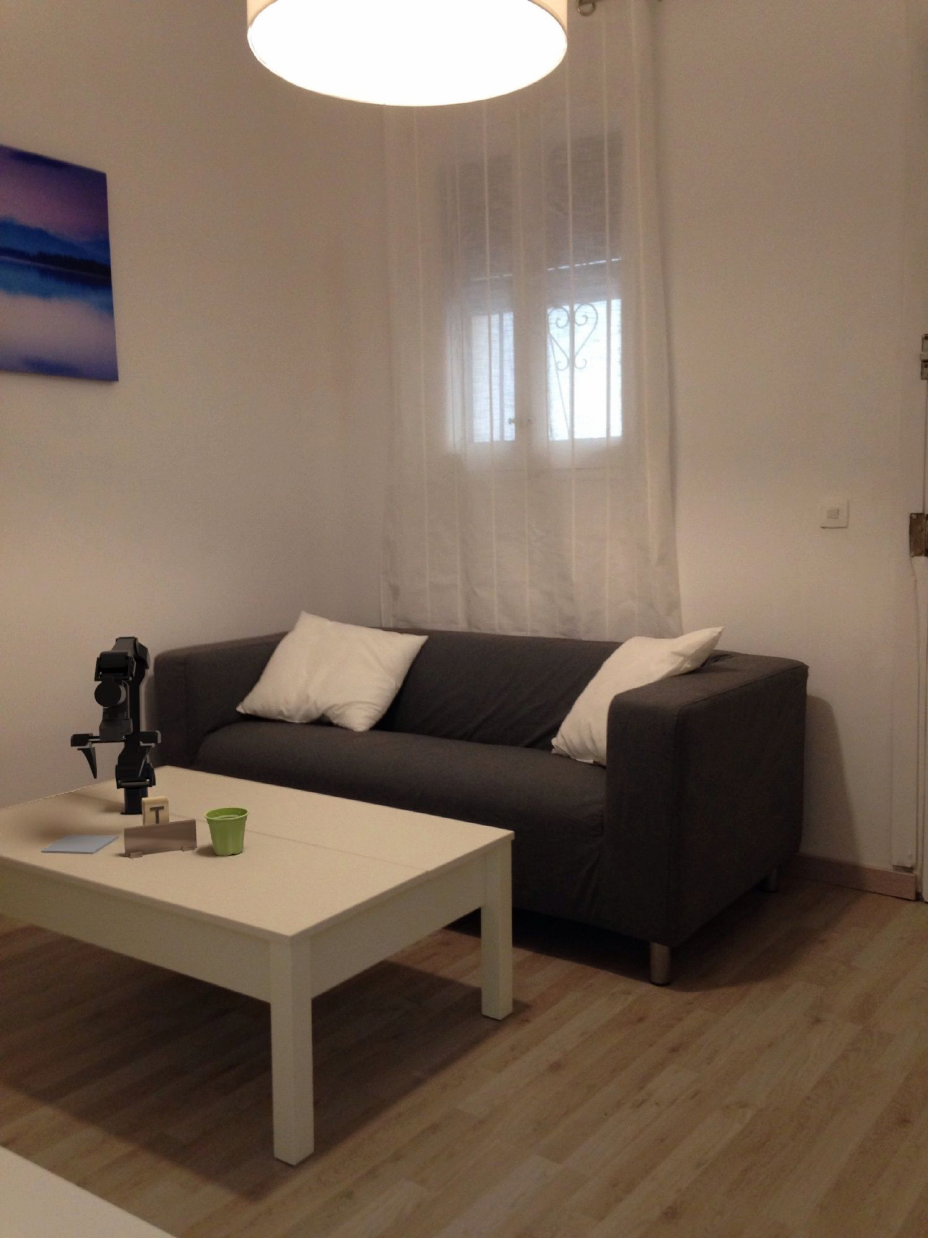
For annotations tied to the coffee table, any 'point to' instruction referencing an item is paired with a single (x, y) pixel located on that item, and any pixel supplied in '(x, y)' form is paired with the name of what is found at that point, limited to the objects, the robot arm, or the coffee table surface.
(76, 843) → the felt mat
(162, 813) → the letter block
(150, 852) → the walnut screen
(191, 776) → the coffee table surface
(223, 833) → the plant pot
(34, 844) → the coffee table surface
